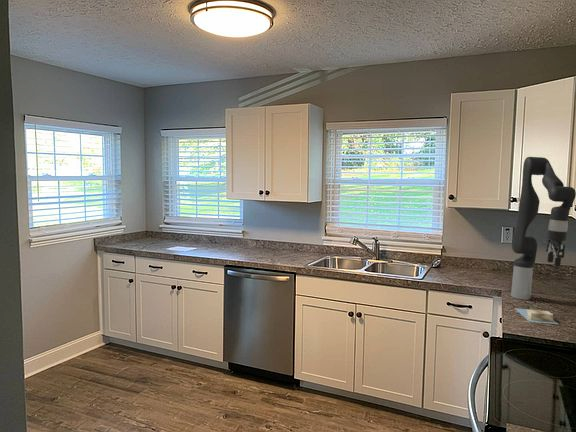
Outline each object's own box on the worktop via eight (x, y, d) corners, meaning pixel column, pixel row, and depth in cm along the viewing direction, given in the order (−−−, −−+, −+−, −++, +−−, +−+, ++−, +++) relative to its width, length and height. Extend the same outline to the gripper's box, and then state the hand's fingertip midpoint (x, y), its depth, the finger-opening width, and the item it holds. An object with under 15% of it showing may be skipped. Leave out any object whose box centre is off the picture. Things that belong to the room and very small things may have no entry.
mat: (514, 309, 215) (514, 308, 215) (540, 311, 213) (540, 310, 213) (529, 322, 196) (529, 321, 196) (558, 324, 194) (558, 324, 194)
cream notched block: (547, 318, 201) (548, 311, 201) (552, 321, 196) (553, 314, 196) (526, 316, 203) (527, 309, 203) (530, 319, 198) (531, 313, 198)
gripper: (573, 232, 195) (568, 268, 197) (560, 228, 209) (556, 261, 211) (554, 231, 197) (550, 266, 199) (543, 226, 211) (539, 260, 213)
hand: (553, 264), depth 205 cm, fingers open, 8 cm apart
